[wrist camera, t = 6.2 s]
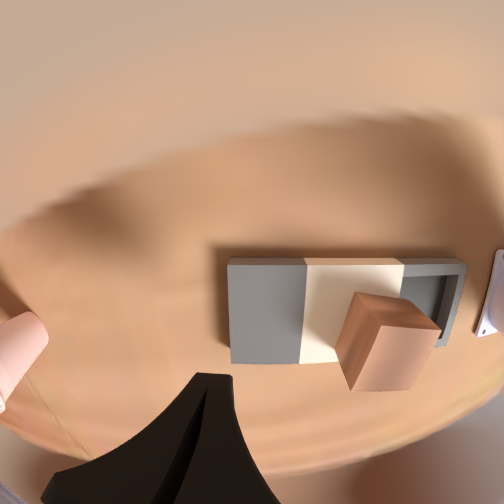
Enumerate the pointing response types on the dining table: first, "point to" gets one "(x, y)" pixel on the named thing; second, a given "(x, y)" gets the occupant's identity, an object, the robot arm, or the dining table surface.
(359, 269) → the board
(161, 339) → the dining table surface
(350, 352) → the cube
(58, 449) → the dining table surface
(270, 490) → the robot arm
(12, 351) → the smoothie
